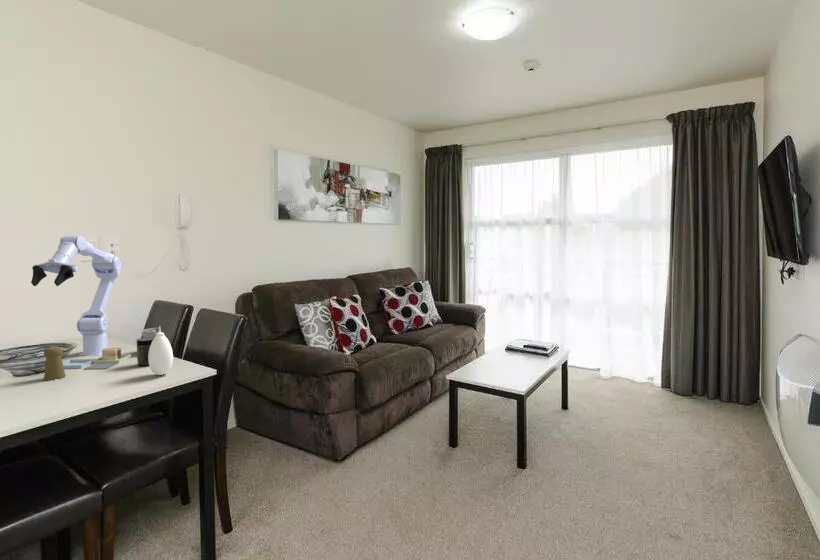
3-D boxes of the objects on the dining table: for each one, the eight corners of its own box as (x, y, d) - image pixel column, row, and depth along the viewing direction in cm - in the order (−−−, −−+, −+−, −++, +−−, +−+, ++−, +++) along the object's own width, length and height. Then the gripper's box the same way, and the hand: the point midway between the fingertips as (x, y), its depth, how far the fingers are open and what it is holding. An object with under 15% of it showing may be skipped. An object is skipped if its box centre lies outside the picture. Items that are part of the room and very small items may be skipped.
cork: (53, 381, 154) (51, 349, 154) (39, 380, 156) (37, 348, 155) (70, 376, 160) (68, 345, 160) (56, 375, 162) (54, 344, 161)
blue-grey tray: (70, 363, 178) (70, 359, 178) (96, 362, 179) (96, 358, 179) (54, 369, 168) (53, 365, 168) (81, 369, 169) (81, 365, 169)
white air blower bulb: (174, 376, 162) (172, 326, 160) (149, 379, 157) (147, 328, 156) (172, 370, 168) (171, 323, 167) (148, 373, 164) (146, 324, 163)
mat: (94, 365, 175) (94, 363, 175) (116, 364, 176) (116, 363, 176) (83, 370, 168) (83, 368, 168) (106, 369, 169) (106, 368, 169)
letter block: (109, 358, 183) (108, 346, 183) (122, 358, 184) (122, 346, 183) (102, 362, 178) (101, 349, 178) (116, 361, 179) (115, 349, 179)
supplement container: (151, 367, 172) (150, 340, 171) (133, 367, 172) (132, 340, 171) (160, 363, 179) (160, 337, 178) (143, 363, 179) (143, 337, 178)
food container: (144, 350, 200) (143, 328, 199) (159, 349, 202) (159, 327, 202) (140, 356, 189) (139, 333, 188) (157, 355, 191) (156, 332, 190)
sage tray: (106, 358, 185) (106, 354, 185) (131, 357, 186) (131, 354, 186) (93, 364, 176) (92, 360, 176) (119, 364, 177) (118, 360, 177)
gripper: (36, 250, 169) (17, 276, 159) (77, 251, 170) (61, 276, 161) (45, 264, 174) (27, 290, 164) (86, 264, 175) (70, 289, 166)
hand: (44, 284), depth 163 cm, fingers open, 7 cm apart
